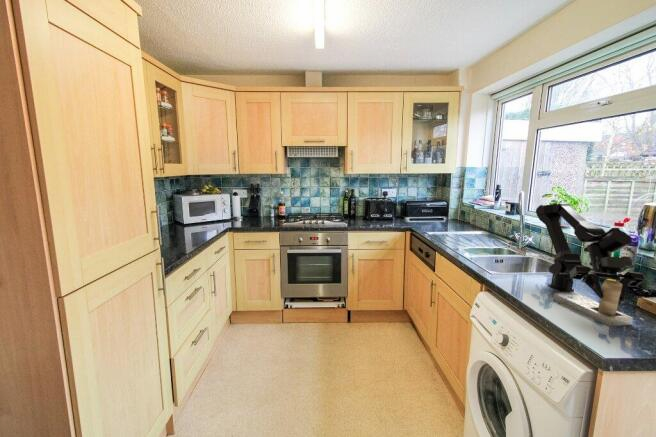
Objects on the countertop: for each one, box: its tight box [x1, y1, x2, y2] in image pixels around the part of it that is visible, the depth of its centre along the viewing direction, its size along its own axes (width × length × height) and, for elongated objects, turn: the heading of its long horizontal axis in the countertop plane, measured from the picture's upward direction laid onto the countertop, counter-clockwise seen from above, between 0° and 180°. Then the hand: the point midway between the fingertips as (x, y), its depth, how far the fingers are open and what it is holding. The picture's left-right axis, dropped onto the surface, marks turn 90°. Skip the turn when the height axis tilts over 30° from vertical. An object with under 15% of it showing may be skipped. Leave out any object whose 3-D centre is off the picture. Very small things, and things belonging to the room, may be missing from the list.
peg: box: [598, 279, 622, 317], centre depth 99 cm, size 4×4×13 cm
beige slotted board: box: [552, 291, 634, 327], centre depth 105 cm, size 20×9×2 cm, turn 10°
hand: (611, 299), depth 97 cm, fingers open, 5 cm apart
